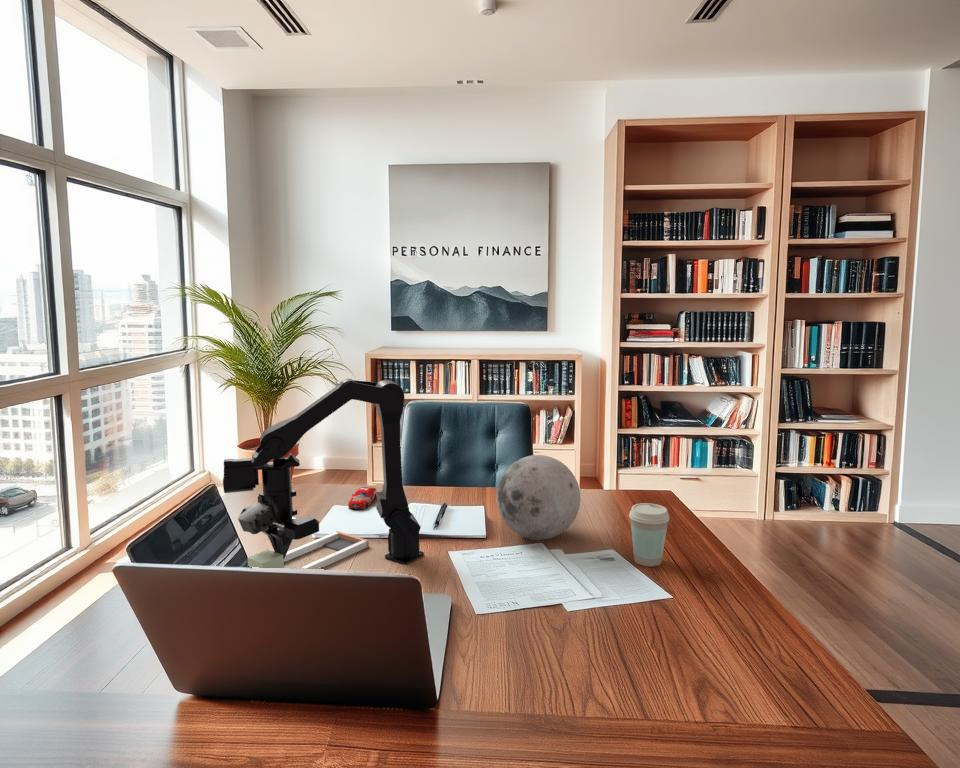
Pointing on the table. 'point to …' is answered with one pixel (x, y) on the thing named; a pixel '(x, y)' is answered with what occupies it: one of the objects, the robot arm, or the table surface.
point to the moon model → (538, 497)
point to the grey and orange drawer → (344, 541)
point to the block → (266, 560)
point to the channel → (327, 559)
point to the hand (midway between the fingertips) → (281, 559)
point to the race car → (362, 498)
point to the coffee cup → (648, 533)
